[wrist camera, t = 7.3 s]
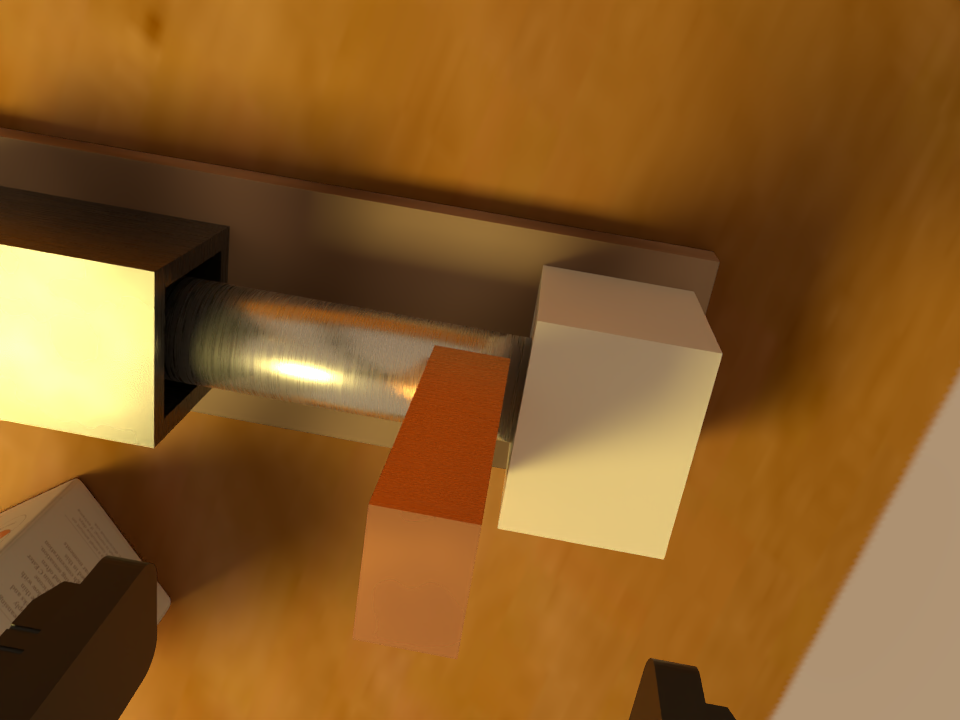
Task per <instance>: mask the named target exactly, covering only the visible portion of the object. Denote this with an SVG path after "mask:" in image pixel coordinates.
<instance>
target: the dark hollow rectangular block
mask: <svg viewBox="0 0 960 720" xmlns="http://www.w3.org/2000/svg"><path fill="white" fill-rule="evenodd" d="M229 232H230V226H226V225H220V224H214V223H209V222H203V221H197V220H192V219H186V218H180V217H175V216H169V215H163V214H158V213H152V212H146V211H141V210H135V209H129V208H124V207H118V206H112V205H107V204H101V203H95V202H90V201H84V200H78V199H73V198H67V197H61V196H56V195H50V194H44V193H39V192H33V191H27V190H22V189H16V188H10V187H5V186H0V420H5V421H10V422H15V423H21V424H26V425H32V426H37V427H42V428H48V429H53V430H58V431H64V432H69V433H75V434H80V435H85V436H91V437H96V438H101V439H107V440H112V441H118V442H123V443H128V444H134V445H139V446H144V447H150V448H155V447H156V446H157V445H158V443H159V442H160V441H161V440H162V439H163V438H164V437H165V436H166V435H167V434H168V433H169V432H170V431H171V430H172V429H173V428H174V427H175V426H176V425H177V424H178V423H179V422H180V421H181V420H182V419H183V418H184V417H185V416H186V415H187V414H188V413H189V412H190V411H191V409H192V408H193V407H194V406H195V405H196V404H197V403H198V402H199V401H200V400H201V399H202V398H203V397H204V396H205V395H206V394H207V393H208V392H209V391H210V390H211V389H212V388H210V387H204V386H199V385H194V384H188V383H183V382H177V381H172V380H166V379H164V348H165V287H167V286H168V285H170V284H171V283H173V282H174V281H176V280H178V279H179V278H181V277H182V276H187V277H193V278H198V279H204V280H209V281H215V282H221V283H226V284H228V258H229Z"/></svg>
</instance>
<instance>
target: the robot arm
mask: <svg viewBox="0 0 960 720" xmlns="http://www.w3.org/2000/svg"><path fill="white" fill-rule="evenodd" d="M156 641H157V570H156V567H155V565H154V564H152V563H148V562H142V561H137V560H132V559H126V558H121V557H116V556H110V555H107V556H105V557H103V558H102V559H101V560H100V561H99V562H98V563H97V564H96V566H95V567H94V568H93V569H92V570H91V572H90V573H89V574H88V575H87V576H86V578H85V579H84V580H83V581H82V582H81V583H80V584H78V583H73V582H67V581H63V582H62V583H60V584H58V585H57V586H55V587H53V588H52V589H50V590H48V591H46V592H45V593H43V594H41V595H40V596H38V597H36V598H35V599H33V600H32V601H31V602H30V603H29V604H28V605H27V607H26V608H25V609H24V610H23V611H22V612H21V613H20V614H19V615H18V617H17V618H16V619H15V620H14V621H13V622H12V623H11V626H10V628H9V629H6V630H5V631H4V632H3V633H2V634H1V635H0V720H118V719H119V718H120V716H121V714H122V713H123V711H124V710H125V708H126V706H127V705H128V703H129V702H130V700H131V698H132V697H133V695H134V694H135V692H136V690H137V689H138V687H139V686H140V684H141V682H142V681H143V679H144V677H145V676H146V674H147V672H148V670H149V667H150V665H151V662H152V659H153V656H154V652H155V647H156ZM629 720H736V719H735V718H734V716H733V715H732V713H731V712H730V711H729V709H728V708H727V707H723V706H717V705H712V704H707V703H705V698H704V693H703V688H702V683H701V678H700V674H699V671H698V669H697V667H695V666H690V665H685V664H679V663H674V662H669V661H663V660H658V659H653V658H650V659H648V661H647V663H646V665H645V668H644V671H643V674H642V678H641V681H640V684H639V688H638V691H637V694H636V698H635V701H634V704H633V708H632V711H631V714H630V718H629Z"/></svg>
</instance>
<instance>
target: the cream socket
mask: <svg viewBox="0 0 960 720" xmlns="http://www.w3.org/2000/svg"><path fill="white" fill-rule="evenodd" d="M529 338H532V345H531V353H530V358H529V363H528V369H527V374H526V379H525V384H524V390H523V395H522V400H521V405H520V411H519V416H518V421H517V426H516V431H515V437H514V442H513V443H510V444H509V451H508V458H507V465H506V472H505V479H504V486H503V493H502V500H501V507H500V515H499V522H498V529H503V530H509V531H514V532H519V533H525V534H530V535H535V536H541V537H546V538H552V539H557V540H562V541H568V542H573V543H578V544H584V545H589V546H594V547H600V548H605V549H610V550H616V551H621V552H626V553H632V554H637V555H643V556H648V557H653V558H659V559H664V557H665V553H666V550H667V546H668V543H669V539H670V536H671V532H672V529H673V525H674V522H675V518H676V515H677V511H678V508H679V504H680V501H681V497H682V494H683V490H684V487H685V483H686V480H687V476H688V473H689V469H690V466H691V462H692V459H693V455H694V452H695V448H696V445H697V441H698V438H699V434H700V431H701V427H702V424H703V420H704V417H705V413H706V410H707V406H708V403H709V399H710V396H711V392H712V389H713V385H714V382H715V378H716V375H717V371H718V368H719V365H720V361H721V358H722V351H721V349H720V347H719V345H718V343H717V341H716V338H715V336H714V334H713V332H712V330H711V327H710V325H709V323H708V321H707V319H706V317H705V314H704V312H703V310H702V308H701V306H700V303H699V301H698V299H697V297H696V295H695V293H694V291H688V290H682V289H677V288H671V287H665V286H659V285H654V284H648V283H642V282H637V281H631V280H625V279H620V278H614V277H608V276H603V275H597V274H591V273H586V272H580V271H574V270H568V269H563V268H557V267H551V266H546V265H543V269H542V274H541V279H540V284H539V290H538V295H537V300H536V306H535V311H534V316H533V322H532V327H531V332H530V337H529Z"/></svg>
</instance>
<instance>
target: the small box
mask: <svg viewBox="0 0 960 720" xmlns="http://www.w3.org/2000/svg"><path fill="white" fill-rule="evenodd" d="M107 555H110V556H116V557H121V558H126V559H132V560H137V561H141V559H140V558H139V557H138V555H137V554H136V553H135V551H134V550H133V549H132V547H131V546H130V545H129V543H128V542H127V541H126V539H125V538H124V537H123V535H122V534H121V533H120V531H119V530H118V528H117V527H116V526H115V524H114V523H113V522H112V520H111V519H110V518H109V516H108V515H107V514H106V512H105V511H104V510H103V508H102V507H101V506H100V504H99V503H98V502H97V501H96V499H95V498H94V497H93V496H92V494H91V493H90V492H89V490H88V489H87V488H86V486H85V485H84V484H83V483H82V482H81V480H79V479H77V478H76V479H73V480H71V481H68V482H66V483H64V484H62V485H60V486H58V487H56V488H53V489H51V490H49V491H47V492H45V493H43V494H41V495H38V496H36V497H34V498H32V499H30V500H28V501H26V502H23V503H21V504H19V505H17V506H15V507H13V508H11V509H8V510H6V511H4V512H2V513H0V635H1V634H2V633H3V632H4V631H5V630H6V629H9V628H10V626H11V623H12V622H13V621H14V620H15V619H16V618H17V617H18V615H19V614H20V613H21V612H22V611H23V610H24V609H25V608H26V607H27V605H28V604H29V603H30V602H31V601H32V600H33V599H35V598H36V597H38V596H40V595H41V594H43V593H45V592H46V591H48V590H50V589H52V588H53V587H55V586H57V585H58V584H60V583H62V582H63V581H67V582H73V583H78V584H80V583H81V582H82V581H83V580H84V579H85V578H86V576H87V575H88V574H89V573H90V572H91V570H92V569H93V568H94V567H95V566H96V564H97V563H98V562H99V561H100V560H101V559H102V558H103V557H105V556H107ZM170 601H171V600H170V597H169V596H168V595H167V594H166V592H165V591H164V590H163V588H162V587H161V586H160V584H159V583H158V582H157V625H158V624H159V622H160V621H161V619H162V618H163V616H164V615H165V613H166V612H167V610H168V609H169V607H170V605H171V602H170Z"/></svg>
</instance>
